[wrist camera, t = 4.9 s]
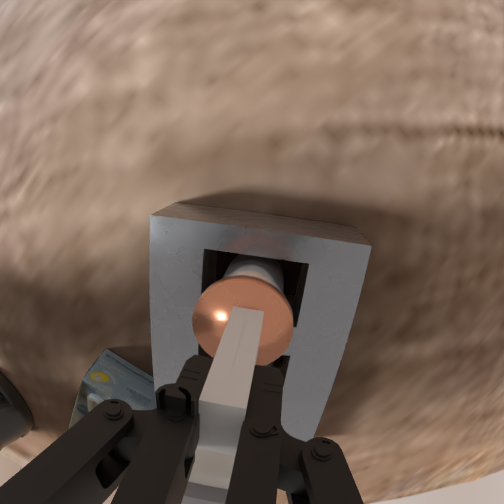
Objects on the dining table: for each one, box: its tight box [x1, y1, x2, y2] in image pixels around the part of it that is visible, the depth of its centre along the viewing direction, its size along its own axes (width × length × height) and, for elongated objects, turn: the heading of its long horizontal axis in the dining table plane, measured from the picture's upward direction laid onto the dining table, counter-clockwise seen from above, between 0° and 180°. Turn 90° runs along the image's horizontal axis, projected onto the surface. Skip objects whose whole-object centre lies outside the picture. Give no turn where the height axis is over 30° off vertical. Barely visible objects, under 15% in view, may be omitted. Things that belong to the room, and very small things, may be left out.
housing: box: [149, 203, 372, 442], centre depth 26 cm, size 14×24×5 cm, turn 173°
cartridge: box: [182, 361, 275, 504], centre depth 20 cm, size 5×5×16 cm
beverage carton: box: [68, 349, 156, 430], centre depth 30 cm, size 8×19×7 cm, turn 150°
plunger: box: [192, 254, 293, 366], centre depth 19 cm, size 5×5×7 cm
